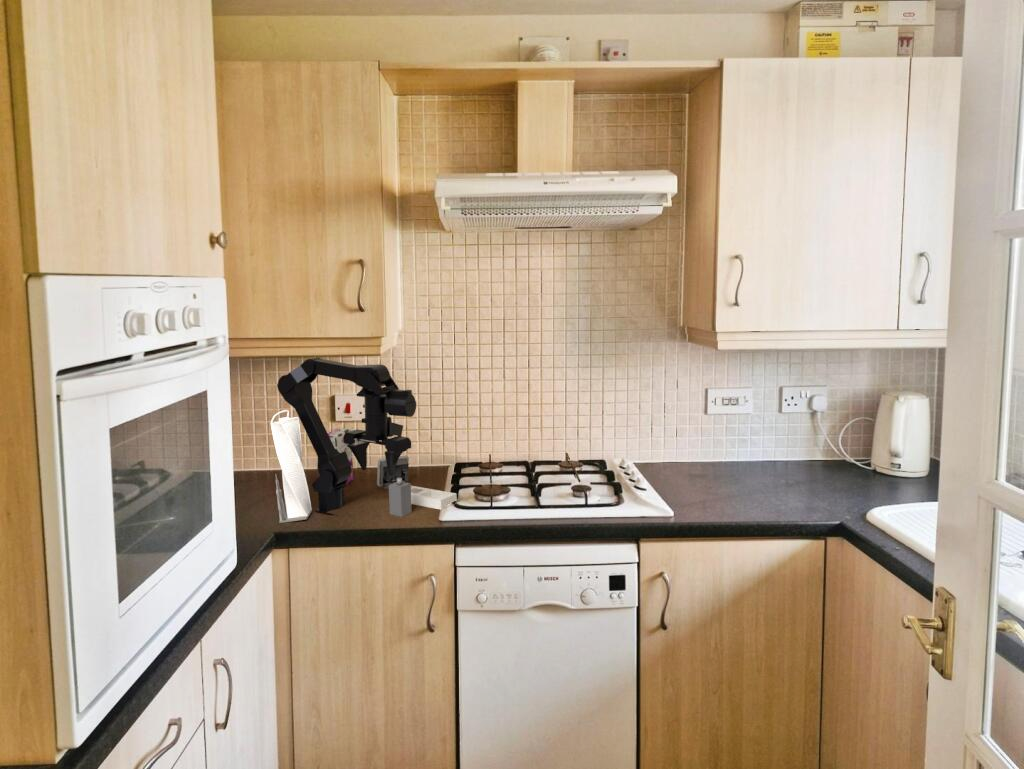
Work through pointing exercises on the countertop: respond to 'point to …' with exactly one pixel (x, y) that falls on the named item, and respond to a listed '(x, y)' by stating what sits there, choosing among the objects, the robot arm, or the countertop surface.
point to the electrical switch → (399, 472)
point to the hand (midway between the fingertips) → (377, 472)
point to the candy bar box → (341, 446)
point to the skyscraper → (291, 469)
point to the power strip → (431, 497)
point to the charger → (400, 498)
